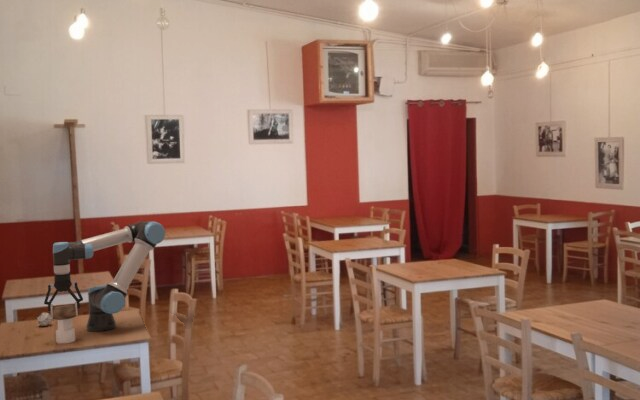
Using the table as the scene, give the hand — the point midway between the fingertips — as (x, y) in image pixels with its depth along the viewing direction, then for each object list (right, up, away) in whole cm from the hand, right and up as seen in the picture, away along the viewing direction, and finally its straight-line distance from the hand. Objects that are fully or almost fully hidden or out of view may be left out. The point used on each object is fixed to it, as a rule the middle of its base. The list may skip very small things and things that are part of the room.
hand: (64, 316), depth 339 cm
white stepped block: (0, -13, +1) cm, 13 cm away
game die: (-24, -12, +36) cm, 45 cm away
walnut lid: (0, 0, 0) cm, 0 cm away
